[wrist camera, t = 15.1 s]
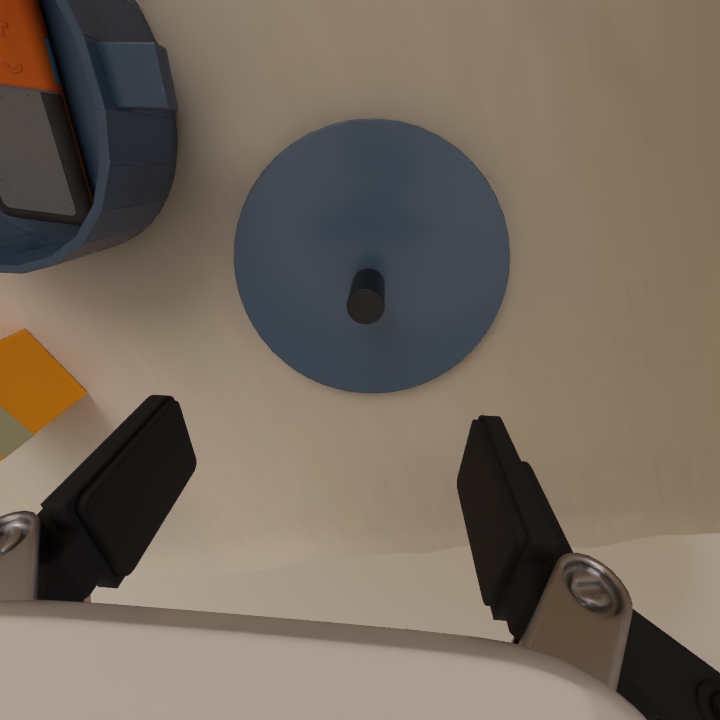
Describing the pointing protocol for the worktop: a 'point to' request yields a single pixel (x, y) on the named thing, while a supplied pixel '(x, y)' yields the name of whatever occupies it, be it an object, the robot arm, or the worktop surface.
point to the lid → (371, 256)
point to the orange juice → (30, 390)
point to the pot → (104, 131)
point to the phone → (36, 125)
